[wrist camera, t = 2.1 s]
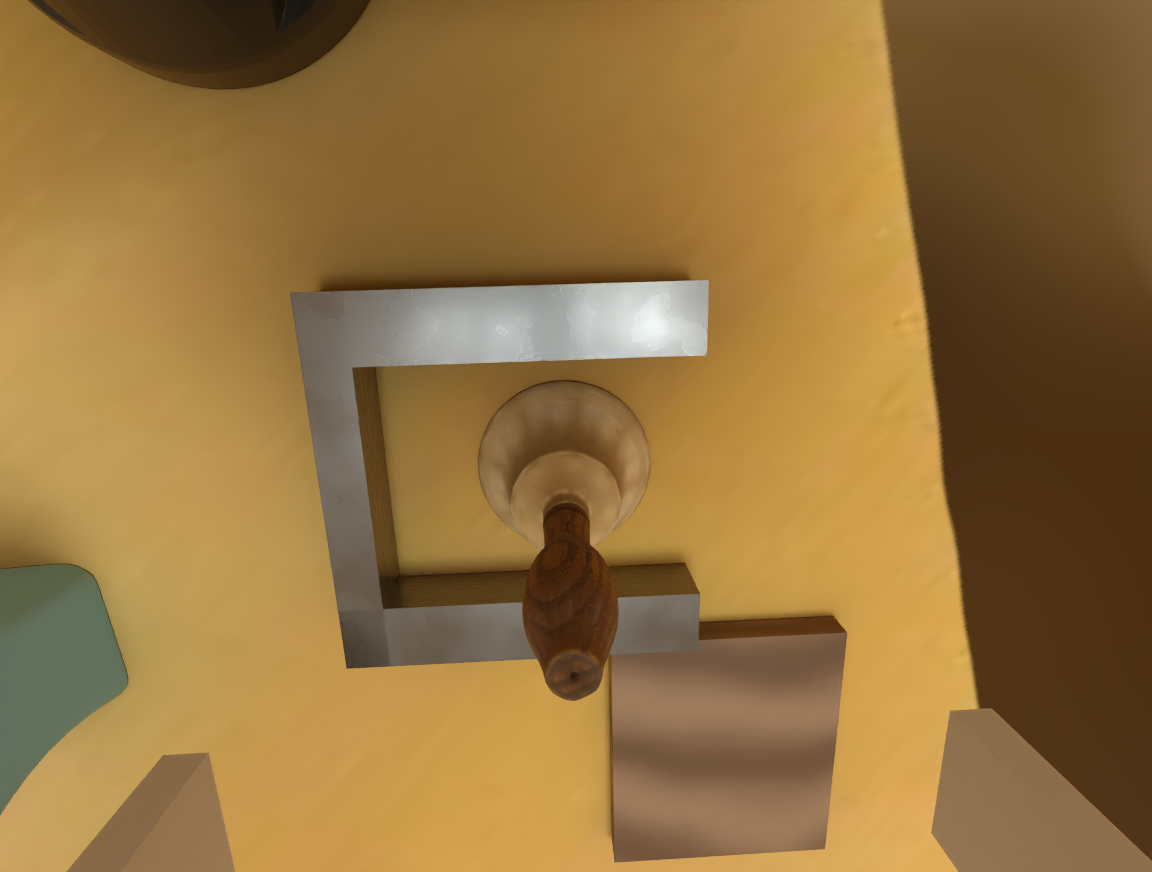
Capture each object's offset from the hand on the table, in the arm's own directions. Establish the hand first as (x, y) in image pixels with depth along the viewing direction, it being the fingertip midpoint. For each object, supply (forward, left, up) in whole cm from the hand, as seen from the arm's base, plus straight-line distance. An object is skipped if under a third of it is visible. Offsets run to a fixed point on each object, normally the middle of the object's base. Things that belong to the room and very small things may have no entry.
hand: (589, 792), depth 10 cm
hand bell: (0, 0, -19) cm, 19 cm away
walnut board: (+16, +8, -18) cm, 25 cm away
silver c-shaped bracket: (0, -2, -18) cm, 19 cm away
